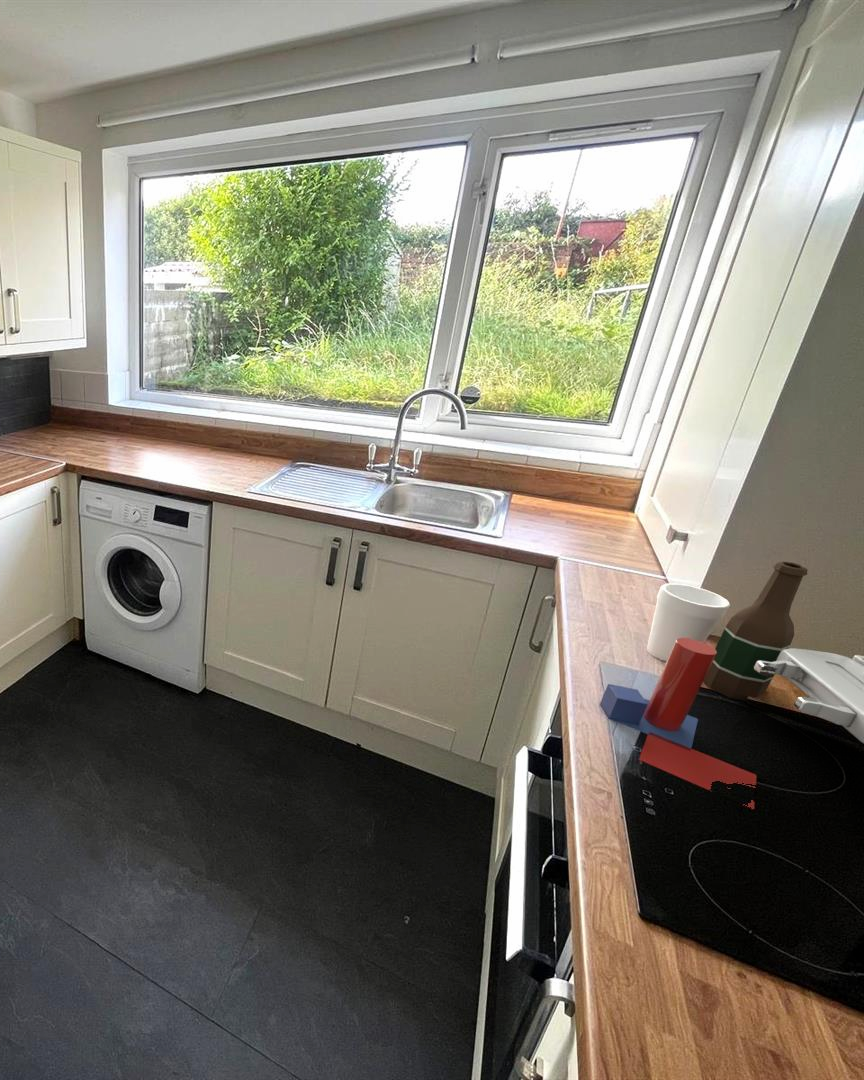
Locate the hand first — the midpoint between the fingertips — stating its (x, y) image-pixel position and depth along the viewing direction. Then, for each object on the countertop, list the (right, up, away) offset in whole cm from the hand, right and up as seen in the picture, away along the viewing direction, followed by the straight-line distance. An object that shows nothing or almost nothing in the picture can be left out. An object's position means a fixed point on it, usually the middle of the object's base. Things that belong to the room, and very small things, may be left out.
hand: (777, 684), depth 84 cm
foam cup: (+8, -1, +26) cm, 27 cm away
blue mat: (-11, -8, +8) cm, 16 cm away
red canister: (-10, -8, +7) cm, 15 cm away
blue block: (-16, -7, +9) cm, 19 cm away
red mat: (-13, -12, -2) cm, 18 cm away
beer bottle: (+10, -5, +16) cm, 20 cm away
